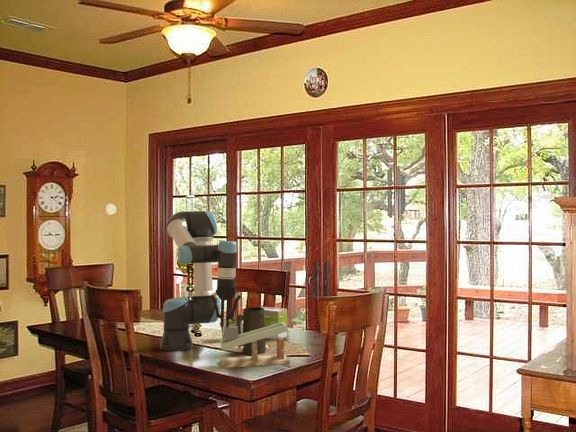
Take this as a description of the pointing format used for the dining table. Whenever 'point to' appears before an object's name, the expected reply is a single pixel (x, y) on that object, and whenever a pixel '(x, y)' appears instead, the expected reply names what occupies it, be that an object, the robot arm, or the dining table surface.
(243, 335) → the beam
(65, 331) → the dining table surface
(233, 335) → the block
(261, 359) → the beam stand
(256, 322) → the beer stein
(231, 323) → the plant pot
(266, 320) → the tea box
